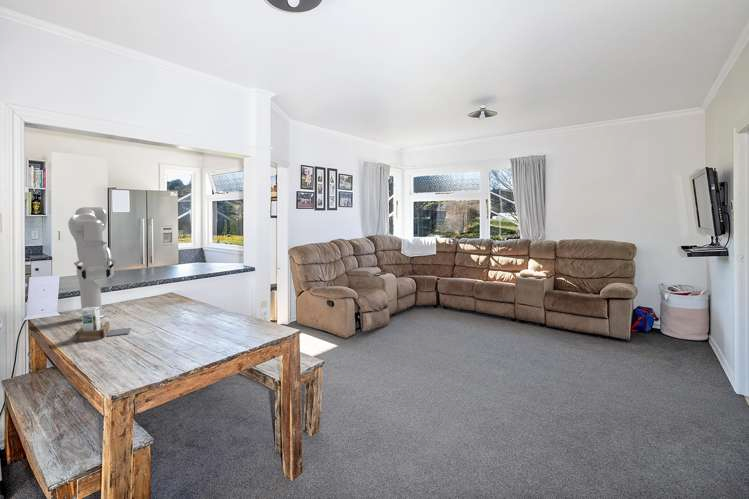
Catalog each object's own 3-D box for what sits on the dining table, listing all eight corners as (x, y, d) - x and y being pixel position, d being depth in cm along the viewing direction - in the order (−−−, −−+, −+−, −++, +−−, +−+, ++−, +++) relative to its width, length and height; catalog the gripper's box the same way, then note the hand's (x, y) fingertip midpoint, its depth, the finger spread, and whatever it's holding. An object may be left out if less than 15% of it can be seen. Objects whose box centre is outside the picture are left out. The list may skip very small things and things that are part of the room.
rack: (83, 332, 196) (83, 324, 196) (109, 329, 201) (108, 321, 201) (75, 341, 182) (75, 333, 182) (103, 338, 187) (103, 330, 187)
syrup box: (83, 339, 186) (80, 309, 184) (88, 335, 192) (86, 306, 190) (96, 338, 187) (94, 309, 186) (101, 334, 193) (99, 306, 192)
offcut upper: (87, 327, 196) (87, 323, 195) (102, 325, 198) (101, 321, 198) (86, 329, 191) (85, 325, 191) (100, 328, 194) (100, 324, 194)
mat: (110, 331, 198) (110, 330, 198) (130, 328, 202) (130, 327, 202) (107, 336, 189) (107, 335, 189) (128, 334, 193) (128, 332, 193)
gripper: (115, 243, 202) (117, 275, 203) (74, 244, 194) (77, 278, 195) (113, 244, 195) (115, 277, 196) (70, 245, 187) (73, 280, 189)
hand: (96, 277), depth 196 cm, fingers open, 9 cm apart
